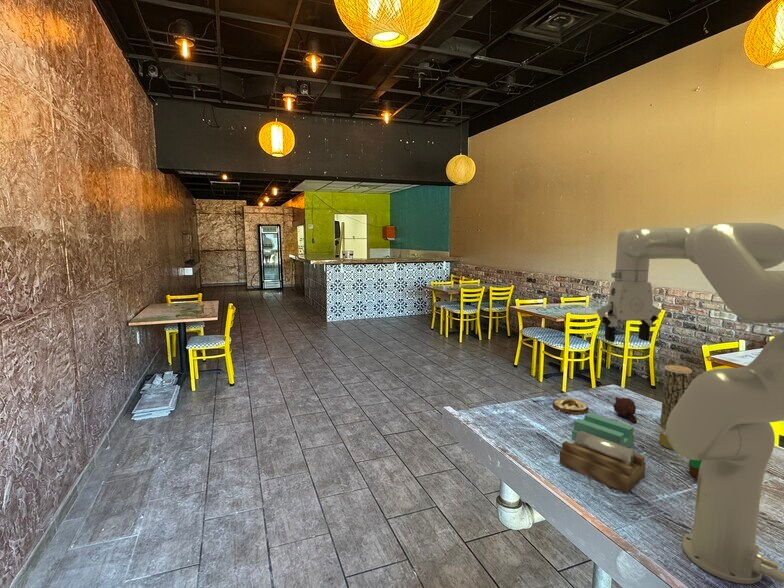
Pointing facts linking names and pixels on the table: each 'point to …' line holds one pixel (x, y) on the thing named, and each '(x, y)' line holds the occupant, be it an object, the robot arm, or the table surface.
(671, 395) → the bark patterned canister
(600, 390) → the table surface
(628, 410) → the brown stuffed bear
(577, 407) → the tan round flat disc
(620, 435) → the v block
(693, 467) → the food container
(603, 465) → the wooden channel block
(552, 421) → the table surface
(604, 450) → the axle
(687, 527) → the table surface
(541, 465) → the table surface
